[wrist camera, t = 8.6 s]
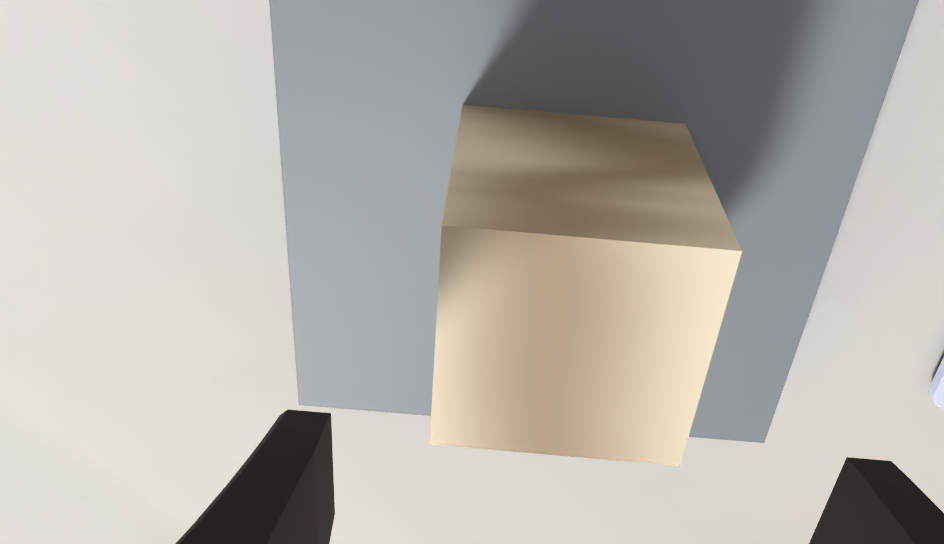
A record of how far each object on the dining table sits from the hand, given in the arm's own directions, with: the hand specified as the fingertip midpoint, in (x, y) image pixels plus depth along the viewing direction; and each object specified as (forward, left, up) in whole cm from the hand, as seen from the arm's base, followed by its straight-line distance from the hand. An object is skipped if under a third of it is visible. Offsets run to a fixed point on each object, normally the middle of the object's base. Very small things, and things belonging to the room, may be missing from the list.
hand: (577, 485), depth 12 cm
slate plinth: (0, 0, -10) cm, 10 cm away
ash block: (0, 0, -7) cm, 7 cm away
